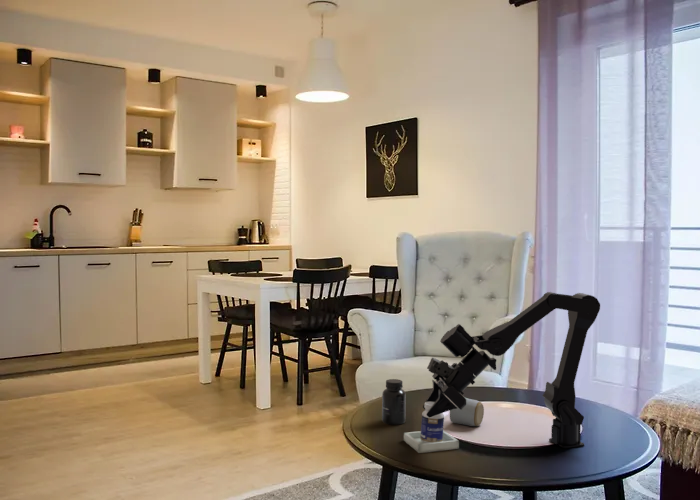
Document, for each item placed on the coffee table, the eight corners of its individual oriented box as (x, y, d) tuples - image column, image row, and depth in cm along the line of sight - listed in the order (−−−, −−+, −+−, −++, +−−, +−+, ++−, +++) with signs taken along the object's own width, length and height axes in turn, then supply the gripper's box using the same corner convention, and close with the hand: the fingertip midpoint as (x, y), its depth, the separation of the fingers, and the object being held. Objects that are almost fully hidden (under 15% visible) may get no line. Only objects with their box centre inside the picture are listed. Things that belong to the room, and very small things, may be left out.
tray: (441, 436, 169) (441, 428, 169) (458, 448, 159) (458, 440, 159) (403, 440, 165) (403, 432, 165) (418, 453, 156) (419, 445, 156)
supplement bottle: (378, 423, 180) (378, 382, 180) (386, 417, 186) (386, 377, 186) (401, 426, 177) (401, 384, 177) (408, 419, 184) (408, 379, 183)
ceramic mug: (476, 430, 174) (476, 402, 174) (448, 425, 178) (449, 398, 178) (488, 420, 183) (488, 394, 183) (461, 416, 187) (462, 391, 187)
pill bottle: (427, 446, 159) (429, 407, 158) (416, 439, 164) (418, 401, 164) (446, 444, 161) (448, 405, 161) (435, 437, 166) (437, 400, 166)
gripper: (440, 341, 171) (399, 382, 171) (453, 354, 152) (408, 400, 152) (468, 369, 171) (428, 410, 171) (485, 386, 153) (440, 432, 153)
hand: (425, 412), depth 162 cm, fingers open, 6 cm apart
